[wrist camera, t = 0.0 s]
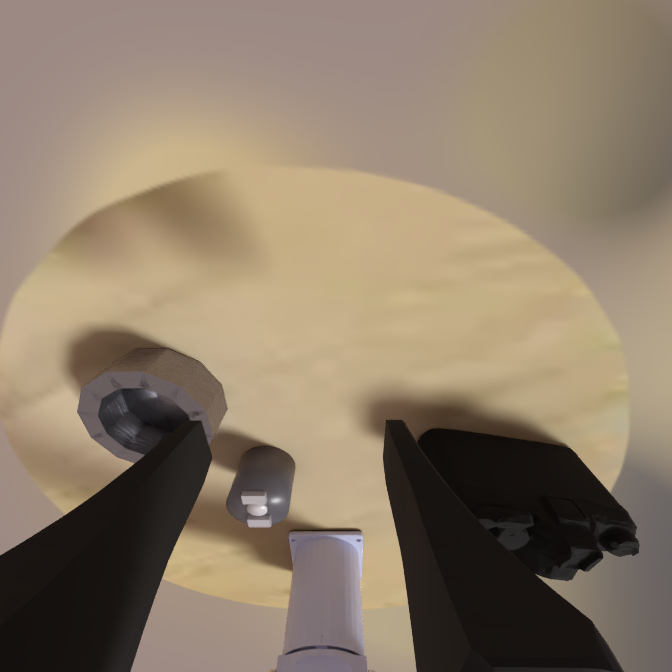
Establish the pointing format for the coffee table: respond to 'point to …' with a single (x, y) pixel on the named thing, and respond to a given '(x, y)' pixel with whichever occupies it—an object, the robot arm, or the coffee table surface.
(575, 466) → the film camera
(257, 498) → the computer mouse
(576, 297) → the coffee table surface
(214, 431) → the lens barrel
